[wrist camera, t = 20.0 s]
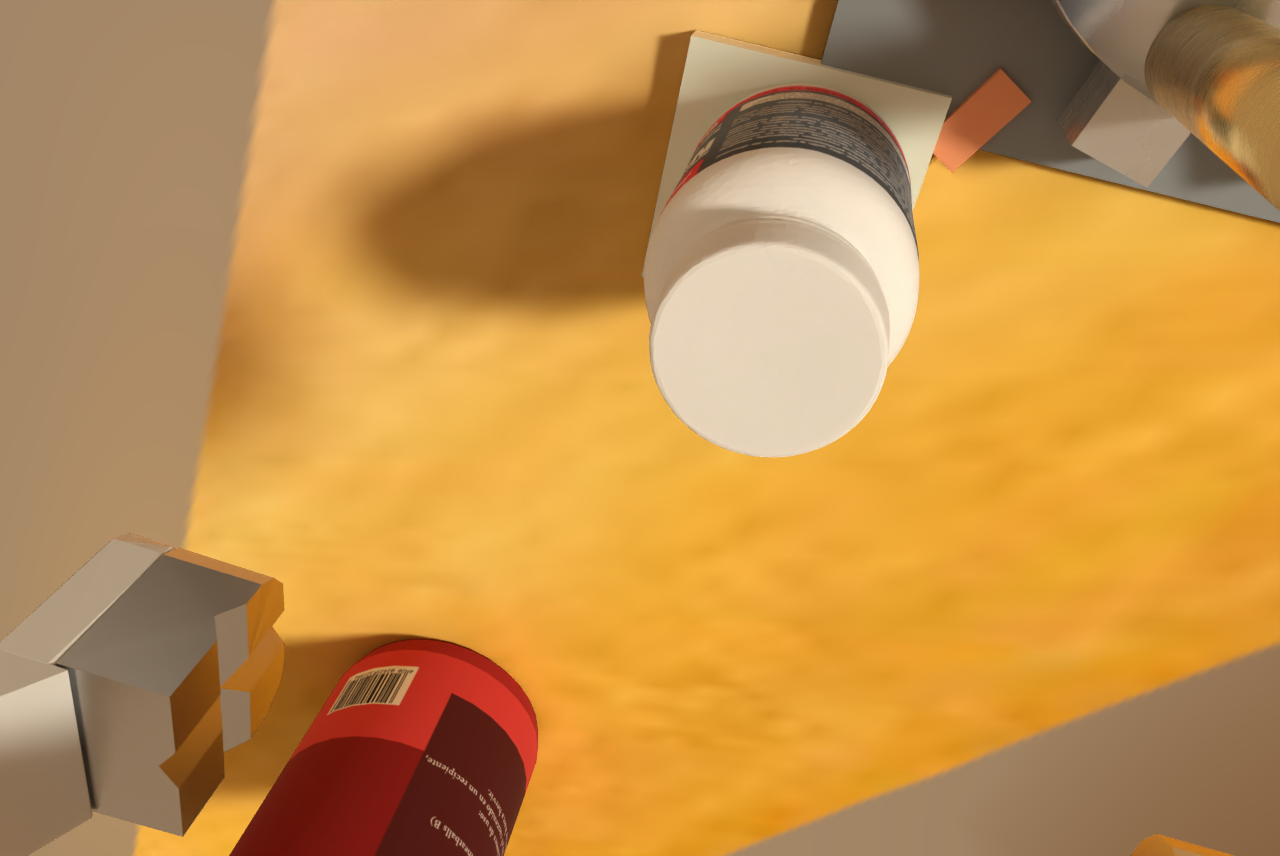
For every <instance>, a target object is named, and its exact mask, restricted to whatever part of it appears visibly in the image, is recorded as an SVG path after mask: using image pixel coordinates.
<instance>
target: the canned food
mask: <svg viewBox="0 0 1280 856" xmlns="http://www.w3.org/2000/svg"><path fill="white" fill-rule="evenodd" d="M537 751H538V727H537V721H536V715H535V712H534V710H533V707H532V705H531V702H530V700H529V698H528V697H527V695H526V694H525V693H524V691H523V690H522V688H521V687H520V685H519V684H518V683H517V682H516V681H515V680H514V679H513V678H512V677H511V676H510V675H509V674H508V673H507V672H506V671H504V670H503V669H502V668H500V667H499V666H498V665H496V664H495V663H494V662H492V661H491V660H489V659H487V658H485V657H483V656H481V655H479V654H478V653H476V652H474V651H472V650H469V649H466V648H463V647H460V646H457V645H455V644H451V643H446V642H441V641H436V640H419V639H413V640H405V641H396V642H393V643H390V644H387V645H384V646H381V647H379V648H377V649H375V650H374V651H372V652H370V653H369V654H367V655H366V656H364V657H363V658H362V659H361V660H359V661H358V662H357V663H356V664H354V665H353V666H352V667H351V668H350V669H349V670H348V671H347V672H346V673H345V674H344V675H343V676H342V677H341V679H340V680H339V682H338V683H337V685H336V687H335V688H334V690H333V691H332V693H331V695H330V696H329V698H328V699H327V701H326V703H325V704H324V706H323V707H322V709H321V710H320V712H319V714H318V715H317V717H316V718H315V720H314V722H313V723H312V725H311V726H310V728H309V730H308V731H307V733H306V734H305V736H304V738H303V739H302V741H301V742H300V744H299V746H298V747H297V749H296V750H295V752H294V753H293V755H292V757H291V758H290V760H289V761H288V763H287V765H286V766H285V768H284V769H283V771H282V773H281V774H280V776H279V777H278V779H277V781H276V782H275V784H274V785H273V787H272V789H271V790H270V792H269V793H268V795H267V796H266V798H265V800H264V801H263V803H262V804H261V806H260V808H259V809H258V811H257V812H256V814H255V816H254V817H253V819H252V820H251V822H250V824H249V825H248V827H247V828H246V830H245V832H244V833H243V835H242V836H241V838H240V839H239V841H238V843H237V844H236V846H235V847H234V849H233V851H232V852H231V854H230V855H229V856H504V853H505V850H506V847H507V845H508V842H509V839H510V836H511V833H512V830H513V827H514V824H515V821H516V819H517V816H518V813H519V810H520V807H521V804H522V801H523V798H524V795H525V793H526V790H527V787H528V784H529V781H530V778H531V775H532V772H533V769H534V767H535V764H536V760H537Z"/></svg>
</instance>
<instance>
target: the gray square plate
mask: <svg viewBox="0 0 1280 856" xmlns="http://www.w3.org/2000/svg"><path fill="white" fill-rule="evenodd" d="M1099 60H1100V59H1099V58H1098V57H1097V56H1096V55H1095V54H1094V53H1093V52H1092V51H1091V50H1089V49H1088V48H1087V47H1086V46H1085V45H1084V44H1083V43H1082V42H1081V41H1080V40H1079V39H1078V38H1077V37H1076V36H1075V35H1074V33H1073V32H1072V31H1071V29H1070V28H1069V27H1068V26H1067V24H1066V23H1065V22H1064V21H1063V19H1062V18H1061V17H1060V15H1059V14H1058V13H1057V12H1056V10H1055V9H1054V7H1053V5H1052V3H1051V2H1050V0H838V3H837V7H836V10H835V14H834V18H833V21H832V25H831V29H830V32H829V36H828V39H827V43H826V47H825V50H824V54H823V57H822V62H821V64H822V65H826V66H830V67H835V68H839V69H843V70H847V71H851V72H855V73H859V74H864V75H868V76H872V77H876V78H880V79H884V80H889V81H893V82H897V83H901V84H905V85H909V86H913V87H918V88H922V89H926V90H930V91H934V92H938V93H943V94H947V95H951V97H952V100H951V103H950V106H949V109H948V111H947V114H946V117H945V120H944V123H943V126H942V129H941V132H940V134H939V137H938V140H937V143H936V146H935V149H934V152H933V154H934V155H935V156H936V157H937V158H938V159H939V160H940V161H941V162H942V163H943V164H944V165H945V166H946V167H947V168H948V169H949V170H950V171H951V172H952V173H953V172H954V171H955V170H956V169H957V168H958V167H959V166H960V165H962V164H963V163H964V162H965V161H966V160H967V159H968V158H969V157H970V156H972V155H973V154H974V153H975V152H976V151H977V150H978V149H979V150H983V151H987V152H991V153H995V154H999V155H1003V156H1007V157H1011V158H1015V159H1020V160H1024V161H1028V162H1032V163H1036V164H1040V165H1044V166H1048V167H1052V168H1056V169H1061V170H1065V171H1069V172H1073V173H1077V174H1081V175H1085V176H1089V177H1093V178H1097V179H1102V180H1106V181H1110V182H1114V183H1118V184H1122V185H1126V186H1130V187H1134V188H1139V189H1143V190H1147V191H1151V192H1155V193H1159V194H1163V195H1167V196H1171V197H1175V198H1180V199H1184V200H1188V201H1192V202H1196V203H1200V204H1204V205H1208V206H1212V207H1216V208H1221V209H1225V210H1229V211H1233V212H1237V213H1241V214H1245V215H1249V216H1253V217H1258V218H1262V219H1266V220H1270V221H1274V222H1278V223H1280V211H1279V210H1278V209H1277V208H1275V207H1274V206H1273V205H1272V204H1271V203H1270V202H1269V201H1268V200H1266V199H1265V198H1264V197H1263V196H1262V195H1261V194H1260V193H1259V192H1257V191H1256V190H1255V189H1254V188H1253V187H1252V186H1251V185H1250V184H1248V183H1247V182H1246V181H1245V180H1244V179H1243V178H1242V177H1241V176H1239V175H1238V174H1237V173H1236V172H1235V171H1234V170H1233V169H1232V168H1230V167H1229V166H1228V165H1227V164H1226V163H1225V162H1224V161H1222V160H1221V159H1220V158H1219V157H1218V156H1217V155H1216V154H1215V153H1213V152H1212V151H1211V150H1210V149H1209V148H1208V147H1207V146H1206V145H1204V144H1203V143H1202V142H1201V141H1200V140H1199V139H1198V138H1197V137H1195V136H1194V135H1193V134H1192V133H1190V135H1189V136H1188V137H1187V138H1186V140H1185V141H1184V142H1183V143H1182V145H1181V146H1180V147H1179V148H1178V150H1177V151H1176V152H1175V154H1174V155H1173V156H1172V157H1171V159H1170V160H1169V161H1168V162H1167V164H1166V165H1165V166H1164V167H1163V169H1162V170H1161V171H1160V172H1159V174H1158V175H1157V176H1156V177H1155V179H1154V180H1153V181H1152V182H1151V184H1150V185H1149V186H1148V187H1147V188H1146V187H1145V186H1143V185H1141V184H1139V183H1137V182H1136V181H1134V180H1132V179H1130V178H1129V177H1127V176H1125V175H1123V174H1121V173H1120V172H1118V171H1116V170H1114V169H1112V168H1111V167H1109V166H1107V165H1105V164H1103V163H1102V162H1100V161H1098V160H1096V159H1095V158H1093V157H1091V156H1089V155H1087V154H1086V153H1084V152H1082V151H1080V150H1078V149H1077V148H1075V147H1073V146H1071V144H1070V143H1069V141H1068V140H1067V138H1066V137H1065V135H1064V134H1063V132H1062V131H1061V130H1060V128H1059V127H1058V125H1057V124H1056V121H1057V119H1058V118H1059V116H1060V115H1061V114H1062V112H1063V111H1064V109H1065V108H1066V107H1067V105H1068V104H1069V102H1070V101H1071V100H1072V98H1073V97H1074V95H1075V94H1076V93H1077V91H1078V90H1079V88H1080V87H1081V86H1082V84H1083V83H1084V81H1085V80H1086V79H1087V77H1088V76H1089V74H1090V73H1091V72H1092V70H1093V69H1094V67H1095V66H1096V65H1097V63H1098V62H1099Z"/></svg>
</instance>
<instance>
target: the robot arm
mask: <svg viewBox="0 0 1280 856" xmlns="http://www.w3.org/2000/svg"><path fill="white" fill-rule="evenodd" d="M283 611H284V595H283V583H281V582H279V581H278V580H276V579H275V578H272V577H269V576H266V575H263V574H260V573H257V572H253V571H250V570H247V569H244V568H241V567H238V566H235V565H232V564H228V563H225V562H222V561H219V560H216V559H213V558H210V557H206V556H203V555H200V554H197V553H194V552H191V551H188V550H185V549H181V548H175V547H172V546H169V545H166V544H163V543H160V542H156V541H153V540H150V539H147V538H144V537H141V536H137V535H134V534H131V533H128V534H126V535H123V536H120V537H117V538H115V539H113V540H111V541H109V542H108V543H107V544H106V545H105V546H104V547H103V548H102V549H101V550H100V551H99V552H97V553H96V554H95V555H94V556H93V557H92V558H91V559H90V560H89V561H88V562H87V563H85V564H84V565H83V566H82V567H81V568H80V569H79V570H78V571H77V572H76V573H75V574H74V575H72V577H71V578H69V579H68V580H67V581H66V582H65V583H64V584H63V585H62V586H60V588H58V589H57V590H56V591H55V592H54V593H53V594H52V595H51V596H50V597H48V598H47V600H45V601H44V602H43V603H42V604H41V605H40V606H39V607H38V608H37V609H35V610H34V611H33V612H32V613H31V614H30V615H29V616H28V617H27V618H26V619H25V620H23V621H22V622H21V623H20V624H19V625H18V626H17V627H16V628H15V629H14V630H13V631H11V633H9V634H8V635H7V636H6V637H5V638H4V639H3V640H2V641H1V642H0V856H28V855H30V854H32V853H33V852H35V851H37V850H38V849H40V848H42V847H43V846H45V845H47V844H48V843H50V842H52V841H53V840H55V839H57V838H58V837H60V836H62V835H63V834H65V833H67V832H68V831H70V830H72V829H73V828H75V827H77V826H78V825H80V824H82V823H83V822H85V821H87V820H88V819H90V818H92V811H93V812H97V813H100V814H104V815H108V816H111V817H115V818H119V819H122V820H126V821H129V822H132V823H136V824H140V825H143V826H147V827H150V828H154V829H157V830H161V831H164V832H168V833H172V834H175V835H179V836H182V837H183V836H184V834H185V833H186V832H187V830H188V829H189V827H190V826H191V824H192V823H193V822H194V820H195V819H196V817H197V816H198V814H199V813H200V812H201V810H202V809H203V807H204V806H205V804H206V803H207V802H208V800H209V799H210V797H211V796H212V794H213V793H214V791H215V790H216V789H217V787H218V786H219V784H220V783H221V781H222V780H223V779H224V777H225V775H224V752H225V751H227V750H229V749H231V748H234V747H236V746H238V745H240V744H242V743H244V742H246V741H248V740H250V739H251V738H252V736H253V735H254V733H255V732H256V730H257V729H258V727H259V726H260V724H261V723H262V721H263V720H264V718H265V717H266V715H267V713H268V711H269V709H270V706H271V704H272V702H273V699H274V697H275V695H276V692H277V690H278V688H279V685H280V681H281V676H282V671H283V666H284V643H283V641H282V640H281V638H280V637H279V635H278V634H277V633H276V631H275V630H274V628H273V627H272V626H273V624H274V623H275V622H276V620H277V619H278V618H279V616H280V615H281V614H282V612H283ZM1131 856H1234V855H1230V854H1226V853H1223V852H1219V851H1215V850H1212V849H1209V848H1205V847H1201V846H1198V845H1194V844H1191V843H1187V842H1184V841H1180V840H1176V839H1173V838H1169V837H1166V836H1162V835H1158V834H1155V835H1153V836H1151V837H1149V838H1146V839H1144V840H1142V841H1141V843H1140V844H1139V845H1138V846H1137V848H1136V849H1135V850H1134V852H1133V853H1132V854H1131Z"/></svg>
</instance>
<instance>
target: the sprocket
mask: <svg viewBox="0 0 1280 856" xmlns="http://www.w3.org/2000/svg"><path fill="white" fill-rule="evenodd" d="M1050 2H1051V3H1052V5H1053V7H1054V9H1055V10H1056V12H1057V13H1058V14H1059V15H1060V17H1061V18H1062V19H1063V21H1064V22H1065V23H1066V24H1067V26H1068V27H1069V28H1070V29H1071V31H1072V32H1073V33H1074V35H1075V36H1076V37H1077V38H1078V39H1079V40H1080V41H1081V42H1082V43H1083V44H1084V45H1085V46H1086V47H1087V48H1088V49H1089V50H1091V51H1092V52H1093V53H1094V54H1095V55H1096V56H1097V57H1098V58H1099V59H1100V60H1099V62H1098V63H1097V65H1096V66H1095V67H1094V69H1093V70H1092V72H1091V73H1090V74H1089V76H1088V77H1087V79H1086V80H1085V81H1084V83H1083V84H1082V86H1081V87H1080V88H1079V90H1078V91H1077V93H1076V94H1075V95H1074V97H1073V98H1072V100H1071V101H1070V102H1069V104H1068V105H1067V107H1066V108H1065V109H1064V111H1063V112H1062V114H1061V115H1060V116H1059V118H1058V119H1057V121H1056V124H1057V125H1058V127H1059V128H1060V130H1061V131H1062V132H1063V134H1064V135H1065V137H1066V138H1067V140H1068V141H1069V143H1070V144H1071V146H1073V147H1075V148H1077V149H1078V150H1080V151H1082V152H1084V153H1086V154H1087V155H1089V156H1091V157H1093V158H1095V159H1096V160H1098V161H1100V162H1102V163H1103V164H1105V165H1107V166H1109V167H1111V168H1112V169H1114V170H1116V171H1118V172H1120V173H1121V174H1123V175H1125V176H1127V177H1129V178H1130V179H1132V180H1134V181H1136V182H1137V183H1139V184H1141V185H1143V186H1145V187H1146V188H1147V187H1148V186H1149V185H1150V184H1151V182H1152V181H1153V180H1154V179H1155V177H1156V176H1157V175H1158V174H1159V172H1160V171H1161V170H1162V169H1163V167H1164V166H1165V165H1166V164H1167V162H1168V161H1169V160H1170V159H1171V157H1172V156H1173V155H1174V154H1175V152H1176V151H1177V150H1178V148H1179V147H1180V146H1181V145H1182V143H1183V142H1184V141H1185V140H1186V138H1187V137H1188V136H1189V135H1190V133H1192V134H1193V135H1194V136H1195V137H1197V138H1198V139H1199V140H1200V141H1201V142H1202V143H1203V144H1204V145H1206V146H1207V147H1208V148H1209V149H1210V150H1211V151H1212V152H1213V153H1215V154H1216V155H1217V156H1218V157H1219V158H1220V159H1221V160H1222V161H1224V162H1225V163H1226V164H1227V165H1228V166H1229V167H1230V168H1232V169H1233V170H1234V171H1235V172H1236V173H1237V174H1238V175H1239V176H1241V177H1242V178H1243V179H1244V180H1245V181H1246V182H1247V183H1248V184H1250V185H1251V186H1252V187H1253V188H1254V189H1255V190H1256V191H1257V192H1259V193H1260V194H1261V195H1262V196H1263V197H1264V198H1265V199H1266V200H1268V201H1269V202H1270V203H1271V204H1272V205H1273V206H1274V207H1275V208H1277V209H1278V210H1279V211H1280V0H1050Z"/></svg>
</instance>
